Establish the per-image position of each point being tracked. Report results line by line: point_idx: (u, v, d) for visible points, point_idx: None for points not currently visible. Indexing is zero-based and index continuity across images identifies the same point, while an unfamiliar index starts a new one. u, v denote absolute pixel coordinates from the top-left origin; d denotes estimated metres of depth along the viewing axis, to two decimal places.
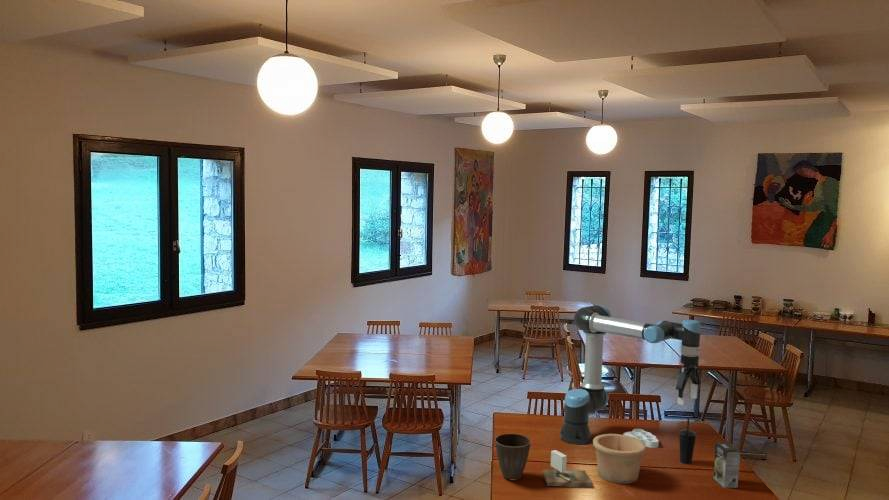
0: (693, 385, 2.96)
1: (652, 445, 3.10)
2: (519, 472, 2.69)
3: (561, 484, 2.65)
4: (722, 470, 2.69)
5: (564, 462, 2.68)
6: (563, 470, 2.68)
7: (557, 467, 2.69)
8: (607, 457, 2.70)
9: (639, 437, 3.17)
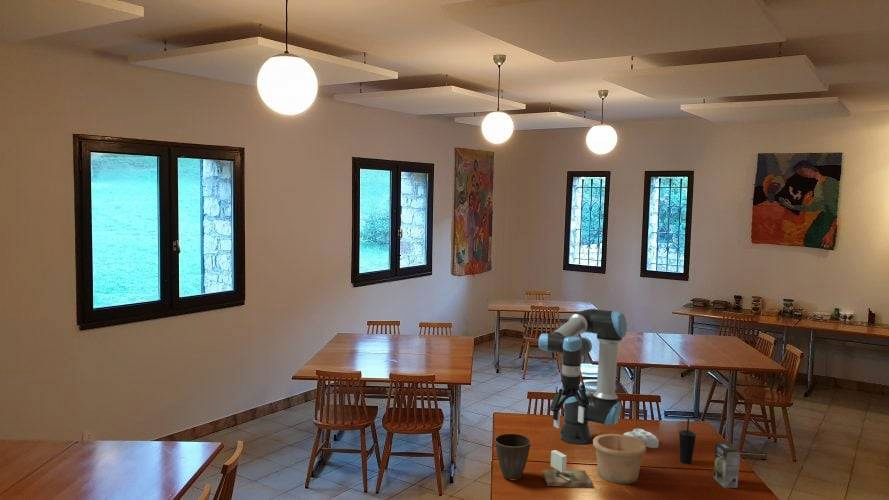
0: (580, 408, 2.74)
1: (652, 445, 3.10)
2: (519, 472, 2.69)
3: (561, 484, 2.65)
4: (722, 470, 2.69)
5: (564, 462, 2.68)
6: (563, 470, 2.68)
7: (557, 467, 2.69)
8: (607, 457, 2.70)
9: (639, 437, 3.17)
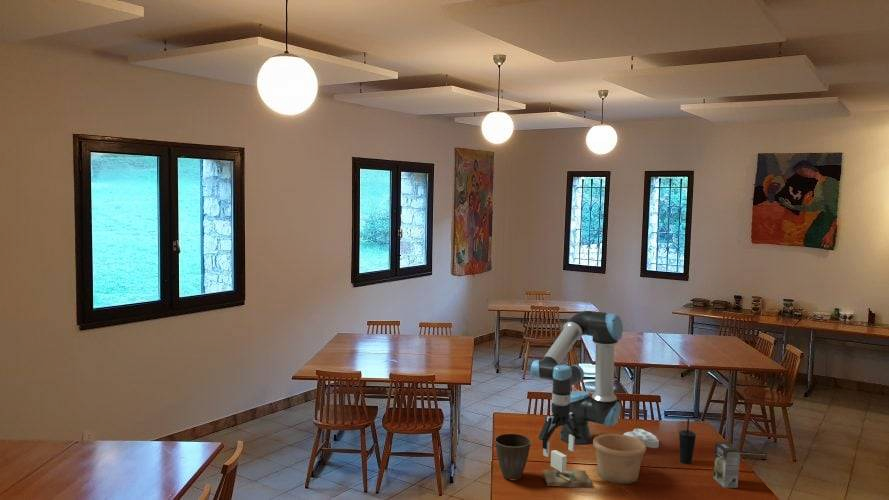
0: (570, 436, 2.73)
1: (652, 445, 3.10)
2: (519, 472, 2.69)
3: (561, 484, 2.65)
4: (722, 470, 2.69)
5: (564, 462, 2.68)
6: (563, 470, 2.68)
7: (557, 467, 2.69)
8: (607, 457, 2.70)
9: (639, 437, 3.17)
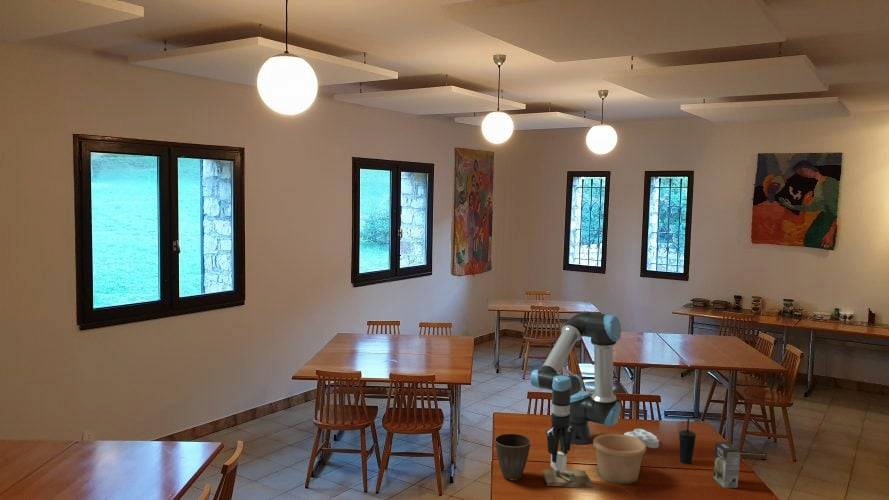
0: None
1: (652, 445, 3.09)
2: (519, 472, 2.69)
3: (561, 484, 2.65)
4: (722, 470, 2.69)
5: (564, 462, 2.68)
6: (563, 470, 2.68)
7: None
8: (607, 457, 2.70)
9: (640, 437, 3.17)
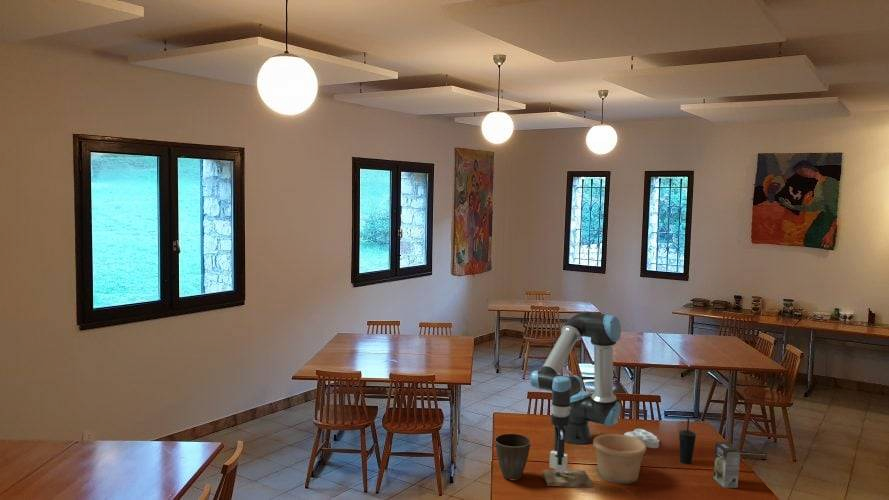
0: None
1: (652, 445, 3.09)
2: (519, 472, 2.69)
3: (561, 484, 2.65)
4: (722, 470, 2.69)
5: (566, 461, 2.69)
6: (565, 469, 2.69)
7: None
8: (607, 457, 2.70)
9: (640, 437, 3.17)
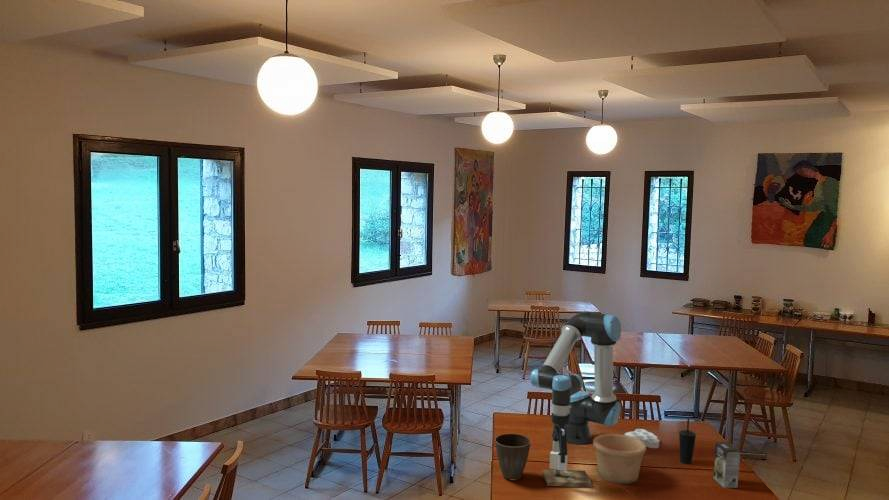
0: (555, 443, 2.77)
1: (652, 445, 3.09)
2: (519, 472, 2.69)
3: (561, 484, 2.65)
4: (722, 470, 2.69)
5: None
6: (566, 468, 2.70)
7: None
8: (607, 457, 2.70)
9: (640, 437, 3.17)
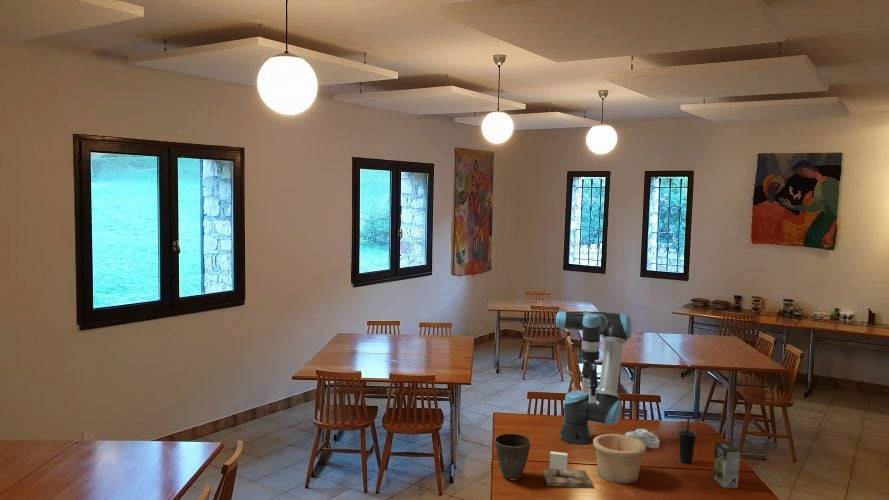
0: (585, 379, 2.89)
1: (652, 445, 3.09)
2: (519, 472, 2.69)
3: (561, 484, 2.65)
4: (722, 470, 2.69)
5: None
6: (566, 468, 2.70)
7: (560, 467, 2.69)
8: (607, 457, 2.70)
9: (640, 437, 3.17)
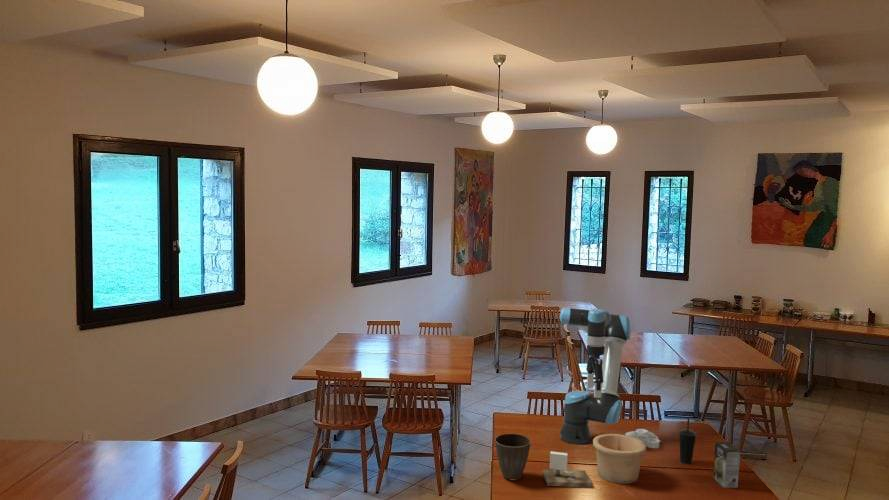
0: (590, 375, 2.91)
1: (652, 445, 3.09)
2: (519, 472, 2.69)
3: (561, 484, 2.65)
4: (722, 470, 2.69)
5: None
6: (566, 468, 2.70)
7: (560, 467, 2.69)
8: (607, 457, 2.70)
9: (641, 437, 3.17)
